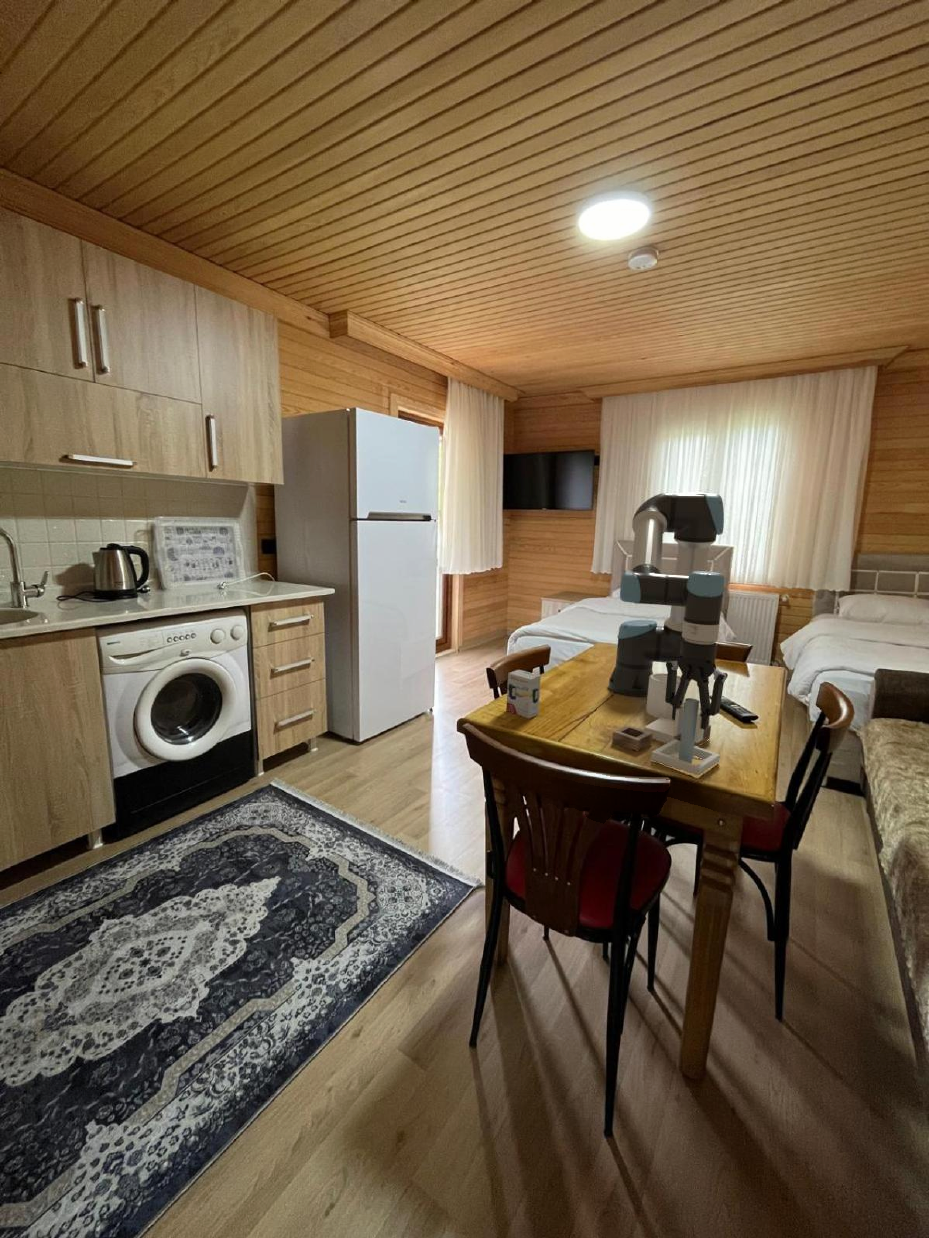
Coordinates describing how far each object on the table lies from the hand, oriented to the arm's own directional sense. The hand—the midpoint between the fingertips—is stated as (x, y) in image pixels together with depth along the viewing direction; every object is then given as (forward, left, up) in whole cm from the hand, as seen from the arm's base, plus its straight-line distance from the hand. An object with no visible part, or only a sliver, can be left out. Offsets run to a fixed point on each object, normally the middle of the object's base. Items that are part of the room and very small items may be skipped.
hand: (687, 737), depth 126 cm
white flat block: (-11, +12, -7) cm, 18 cm away
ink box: (-46, -6, -7) cm, 47 cm away
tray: (0, 0, -7) cm, 7 cm away
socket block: (-14, 0, -7) cm, 15 cm away
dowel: (0, 0, -6) cm, 6 cm away
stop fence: (-4, +12, -7) cm, 14 cm away
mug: (-19, +26, -7) cm, 33 cm away
